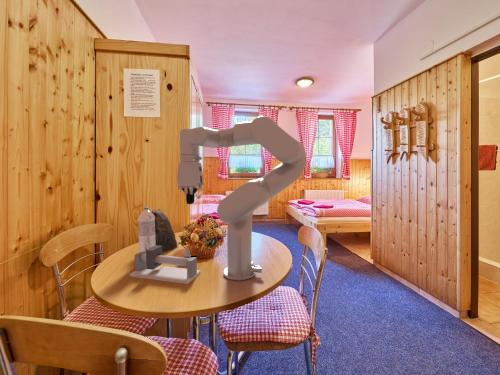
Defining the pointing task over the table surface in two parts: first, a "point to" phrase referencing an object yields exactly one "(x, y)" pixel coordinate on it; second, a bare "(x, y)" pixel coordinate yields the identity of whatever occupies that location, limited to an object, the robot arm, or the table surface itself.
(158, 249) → the collar
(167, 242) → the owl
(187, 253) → the skincare box
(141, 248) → the water bottle
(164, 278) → the slider rail stand
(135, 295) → the table surface
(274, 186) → the robot arm
